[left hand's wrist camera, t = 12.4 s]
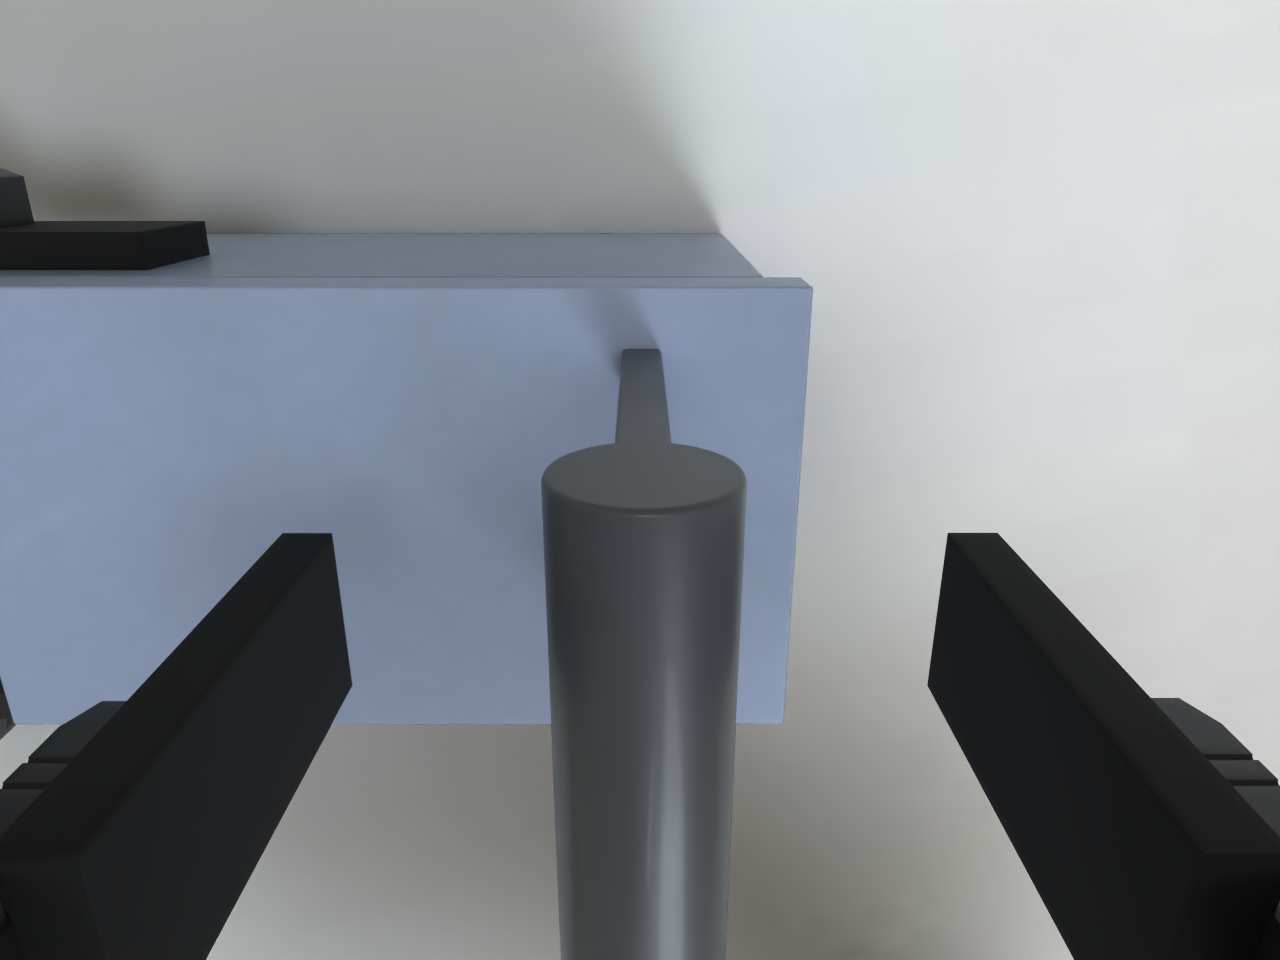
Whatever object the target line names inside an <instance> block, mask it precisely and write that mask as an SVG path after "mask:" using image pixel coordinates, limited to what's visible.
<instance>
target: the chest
mask: <svg viewBox="0 0 1280 960" xmlns="http://www.w3.org/2000/svg"><path fill="white" fill-rule="evenodd" d="M207 240H208V246H209V252H210V255H207V256H203V257H199V258H195V259H191V260H187V261H183V262H179V263H175V264H171V265H167V266H162V267H158V268H154V269H150V270H0V278H764V277H763V276H762V275H761V274H760V273H759V272H758V271H757V270H756V269H755V268H754V267H753V266H752V265H751V264H750V263H749V262H748V261H747V260H746V259H745V258H744V256H743V255H742V254H741V253H740V252H739V251H738V250H737V249H736V248H735V247H734V246H733V245H732V244H731V243H730V242H729V241H728V240H727V239H726V238H725V237H724V236H723V235H722V234H207Z"/></svg>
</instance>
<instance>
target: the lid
mask: <svg viewBox="0 0 1280 960" xmlns="http://www.w3.org/2000/svg"><path fill="white" fill-rule="evenodd" d="M812 294H813V288H812V287H811V286H810V285H809V284H807V283H806V282H805V281H804V280H803V279H801V278H0V678H1V681H2V685H3V688H4V692H5V695H6V698H7V702H8V705H9V708H10V712H11V715H12V719H13V722H14V724H65V723H66V722H68V721H70V720H71V719H73V718H75V717H76V716H78V715H80V714H81V713H83V712H85V711H86V710H88V709H90V708H91V707H93V706H94V705H96V704H98V703H99V702H101V701H127V700H128V699H129V698H130V697H131V696H132V695H133V694H134V693H135V691H136V690H137V689H138V688H139V687H140V686H141V685H142V684H143V683H144V682H145V681H146V680H147V679H148V677H149V676H150V675H151V674H152V673H153V672H154V671H155V670H156V669H157V668H158V667H159V666H160V665H161V663H162V662H163V661H164V660H165V659H166V658H167V657H168V656H169V655H170V654H171V653H172V652H173V651H174V649H175V648H176V647H177V646H178V645H179V644H180V643H181V642H182V641H183V640H184V639H185V638H186V637H187V635H188V634H189V633H190V632H191V631H192V630H193V629H194V628H195V627H196V626H197V625H198V624H199V623H200V621H201V620H202V619H203V618H204V617H205V616H206V615H207V614H208V613H209V612H210V611H211V610H212V608H213V607H214V606H215V605H216V604H217V603H218V602H219V601H220V600H221V599H222V598H223V597H224V596H225V594H226V593H227V592H228V591H229V590H230V589H231V588H232V587H233V586H234V585H235V584H236V583H237V582H238V580H239V579H240V578H241V577H242V576H243V575H244V574H245V573H246V572H247V571H248V570H249V569H250V568H251V566H252V565H253V564H254V563H255V562H256V561H257V560H258V559H259V558H260V557H261V556H262V555H263V554H264V552H265V551H266V550H267V549H268V548H269V547H270V546H271V545H272V544H273V543H274V542H275V541H276V540H277V538H278V537H279V536H280V535H281V534H282V533H332V536H333V544H334V551H335V559H336V566H337V574H338V581H339V588H340V596H341V603H342V611H343V618H344V626H345V633H346V641H347V648H348V656H349V663H350V671H351V678H352V687H351V689H350V691H349V693H348V695H347V696H346V698H345V700H344V702H343V704H342V706H341V708H340V710H339V711H338V713H337V715H336V717H335V719H334V721H333V723H332V724H551V733H552V757H553V781H554V804H555V828H556V852H557V876H558V900H559V924H560V948H561V960H725V952H726V930H727V908H728V886H729V864H730V843H731V821H732V799H733V777H734V755H735V734H736V724H782V723H783V719H784V704H785V690H786V675H787V660H788V646H789V631H790V616H791V602H792V587H793V572H794V558H795V543H796V529H797V514H798V499H799V485H800V470H801V455H802V441H803V426H804V411H805V397H806V382H807V367H808V353H809V338H810V324H811V309H812Z"/></svg>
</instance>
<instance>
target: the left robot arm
mask: <svg viewBox="0 0 1280 960" xmlns="http://www.w3.org/2000/svg"><path fill="white" fill-rule="evenodd" d="M351 687H352V678H351V671H350V663H349V656H348V648H347V641H346V633H345V626H344V618H343V611H342V603H341V596H340V588H339V581H338V574H337V566H336V559H335V551H334V544H333V536H332V533H282V534H281V535H280V536H279V537H278V538H277V540H276V541H275V542H274V543H273V544H272V545H271V546H270V547H269V548H268V549H267V550H266V551H265V552H264V554H263V555H262V556H261V557H260V558H259V559H258V560H257V561H256V562H255V563H254V564H253V565H252V566H251V568H250V569H249V570H248V571H247V572H246V573H245V574H244V575H243V576H242V577H241V578H240V579H239V580H238V582H237V583H236V584H235V585H234V586H233V587H232V588H231V589H230V590H229V591H228V592H227V593H226V594H225V596H224V597H223V598H222V599H221V600H220V601H219V602H218V603H217V604H216V605H215V606H214V607H213V608H212V610H211V611H210V612H209V613H208V614H207V615H206V616H205V617H204V618H203V619H202V620H201V621H200V623H199V624H198V625H197V626H196V627H195V628H194V629H193V630H192V631H191V632H190V633H189V634H188V635H187V637H186V638H185V639H184V640H183V641H182V642H181V643H180V644H179V645H178V646H177V647H176V648H175V649H174V651H173V652H172V653H171V654H170V655H169V656H168V657H167V658H166V659H165V660H164V661H163V662H162V663H161V665H160V666H159V667H158V668H157V669H156V670H155V671H154V672H153V673H152V674H151V675H150V676H149V677H148V679H147V680H146V681H145V682H144V683H143V684H142V685H141V686H140V687H139V688H138V689H137V690H136V691H135V693H134V694H133V695H132V696H131V697H130V698H129V699H128V700H127V701H101V702H99V703H98V704H96V705H94V706H93V707H91V708H90V709H88V710H86V711H85V712H83V713H81V714H80V715H78V716H76V717H75V718H73V719H71V720H70V721H68V722H66V723H65V724H63V725H61V726H60V727H58V728H57V729H56V730H55V731H54V732H53V733H52V734H51V735H50V736H49V737H48V738H47V739H46V740H45V741H44V742H43V743H42V744H41V745H40V746H39V747H38V748H37V749H36V750H35V751H34V752H33V753H32V754H31V755H30V756H29V760H28V763H22V764H21V765H20V766H19V767H18V768H17V769H16V770H15V771H14V772H13V773H12V774H11V775H10V776H9V777H8V778H7V779H6V780H5V781H4V782H3V788H2V789H0V960H206V958H207V956H208V954H209V953H210V951H211V949H212V947H213V945H214V943H215V941H216V939H217V938H218V936H219V934H220V932H221V930H222V928H223V926H224V925H225V923H226V921H227V919H228V917H229V915H230V913H231V911H232V910H233V908H234V906H235V904H236V902H237V900H238V898H239V896H240V895H241V893H242V891H243V889H244V887H245V885H246V883H247V882H248V880H249V878H250V876H251V874H252V872H253V870H254V868H255V867H256V865H257V863H258V861H259V859H260V857H261V855H262V854H263V852H264V850H265V848H266V846H267V844H268V842H269V840H270V839H271V837H272V835H273V833H274V831H275V829H276V827H277V825H278V824H279V822H280V820H281V818H282V816H283V814H284V812H285V811H286V809H287V807H288V805H289V803H290V801H291V799H292V797H293V796H294V794H295V792H296V790H297V788H298V786H299V784H300V782H301V781H302V779H303V777H304V775H305V773H306V771H307V769H308V768H309V766H310V764H311V762H312V760H313V758H314V756H315V754H316V753H317V751H318V749H319V747H320V745H321V743H322V741H323V739H324V738H325V736H326V734H327V732H328V730H329V728H330V726H331V725H332V723H333V721H334V719H335V717H336V715H337V713H338V711H339V710H340V708H341V706H342V704H343V702H344V700H345V698H346V696H347V695H348V693H349V691H350V689H351ZM928 687H929V689H930V691H931V693H932V695H933V697H934V698H935V700H936V702H937V704H938V706H939V708H940V710H941V711H942V713H943V715H944V717H945V719H946V721H947V723H948V725H949V726H950V728H951V730H952V732H953V734H954V736H955V738H956V740H957V741H958V743H959V745H960V747H961V749H962V751H963V753H964V754H965V756H966V758H967V760H968V762H969V764H970V766H971V768H972V769H973V771H974V773H975V775H976V777H977V779H978V781H979V783H980V784H981V786H982V788H983V790H984V792H985V794H986V796H987V797H988V799H989V801H990V803H991V805H992V807H993V809H994V811H995V812H996V814H997V816H998V818H999V820H1000V822H1001V824H1002V825H1003V827H1004V829H1005V831H1006V833H1007V835H1008V837H1009V839H1010V840H1011V842H1012V844H1013V846H1014V848H1015V850H1016V852H1017V854H1018V855H1019V857H1020V859H1021V861H1022V863H1023V865H1024V867H1025V868H1026V870H1027V872H1028V874H1029V876H1030V878H1031V880H1032V882H1033V883H1034V885H1035V887H1036V889H1037V891H1038V893H1039V895H1040V897H1041V898H1042V900H1043V902H1044V904H1045V906H1046V908H1047V910H1048V911H1049V913H1050V915H1051V917H1052V919H1053V921H1054V923H1055V925H1056V926H1057V928H1058V930H1059V932H1060V934H1061V936H1062V938H1063V940H1064V941H1065V943H1066V945H1067V947H1068V949H1069V951H1070V953H1071V954H1072V956H1073V958H1074V960H1280V786H1279V785H1278V779H1277V778H1276V777H1275V776H1274V775H1273V774H1272V773H1271V772H1270V771H1269V770H1268V769H1267V768H1266V767H1265V766H1264V765H1263V764H1262V763H1261V762H1260V761H1259V760H1253V758H1252V753H1251V752H1250V751H1249V750H1248V749H1247V748H1246V747H1245V746H1244V745H1243V744H1242V743H1241V742H1240V741H1238V740H1237V739H1236V738H1235V737H1234V736H1233V735H1232V734H1231V733H1230V732H1229V731H1228V730H1227V729H1226V728H1225V727H1224V726H1223V725H1222V724H1221V723H1219V722H1218V721H1216V720H1214V719H1213V718H1211V717H1209V716H1208V715H1206V714H1204V713H1203V712H1201V711H1199V710H1198V709H1196V708H1194V707H1193V706H1191V705H1189V704H1188V703H1186V702H1184V701H1183V700H1181V699H1179V698H1150V697H1149V696H1148V695H1147V694H1146V693H1145V691H1144V690H1143V689H1142V688H1141V687H1140V686H1139V685H1138V684H1137V683H1136V682H1135V681H1134V680H1133V679H1132V677H1131V676H1130V675H1129V674H1128V673H1127V672H1126V671H1125V670H1124V669H1123V668H1122V667H1121V666H1120V665H1119V663H1118V662H1117V661H1116V660H1115V659H1114V658H1113V657H1112V656H1111V655H1110V654H1109V653H1108V652H1107V651H1106V649H1105V648H1104V647H1103V646H1102V645H1101V644H1100V643H1099V642H1098V641H1097V640H1096V639H1095V638H1094V637H1093V635H1092V634H1091V633H1090V632H1089V631H1088V630H1087V629H1086V628H1085V627H1084V626H1083V625H1082V624H1081V623H1080V621H1079V620H1078V619H1077V618H1076V617H1075V616H1074V615H1073V614H1072V613H1071V612H1070V611H1069V610H1068V609H1067V607H1066V606H1065V605H1064V604H1063V603H1062V602H1061V601H1060V600H1059V599H1058V598H1057V597H1056V596H1055V595H1054V593H1053V592H1052V591H1051V590H1050V589H1049V588H1048V587H1047V586H1046V585H1045V584H1044V583H1043V582H1042V581H1041V579H1040V578H1039V577H1038V576H1037V575H1036V574H1035V573H1034V572H1033V571H1032V570H1031V569H1030V568H1029V566H1028V565H1027V564H1026V563H1025V562H1024V561H1023V560H1022V559H1021V558H1020V557H1019V556H1018V555H1017V554H1016V552H1015V551H1014V550H1013V549H1012V548H1011V547H1010V546H1009V545H1008V544H1007V543H1006V542H1005V541H1004V540H1003V538H1002V537H1001V536H1000V535H999V534H998V533H948V536H947V544H946V551H945V558H944V566H943V573H942V581H941V588H940V596H939V603H938V611H937V618H936V626H935V633H934V641H933V648H932V656H931V663H930V671H929V678H928Z"/></svg>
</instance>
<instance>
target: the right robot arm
mask: <svg viewBox="0 0 1280 960" xmlns="http://www.w3.org/2000/svg"><path fill="white" fill-rule="evenodd" d="M207 255H210V252H209V246H208V240H207V234H206V228H205V222H204V221H34V220H33V216H32V212H31V207H30V203H29V199H28V194H27V190H26V186H25V181H24V177H23V176H20V175H18V174H15V173H13V172H10V171H7V170H5V169H2V168H0V270H150V269H154V268H158V267H162V266H167V265H171V264H175V263H179V262H183V261H187V260H191V259H195V258H199V257H203V256H207ZM15 725H16V724H14V722H13V719H12V715H11V712H10V708H9V705H8V702H7V698H6V695H5V692H4V688H3V685H2V681H1V678H0V740H1V739H2V738H3V737H4V736H5V735H6V734H7V733H8V732H9V731H10V730H11V729H12V728H13V727H14V726H15Z"/></svg>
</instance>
